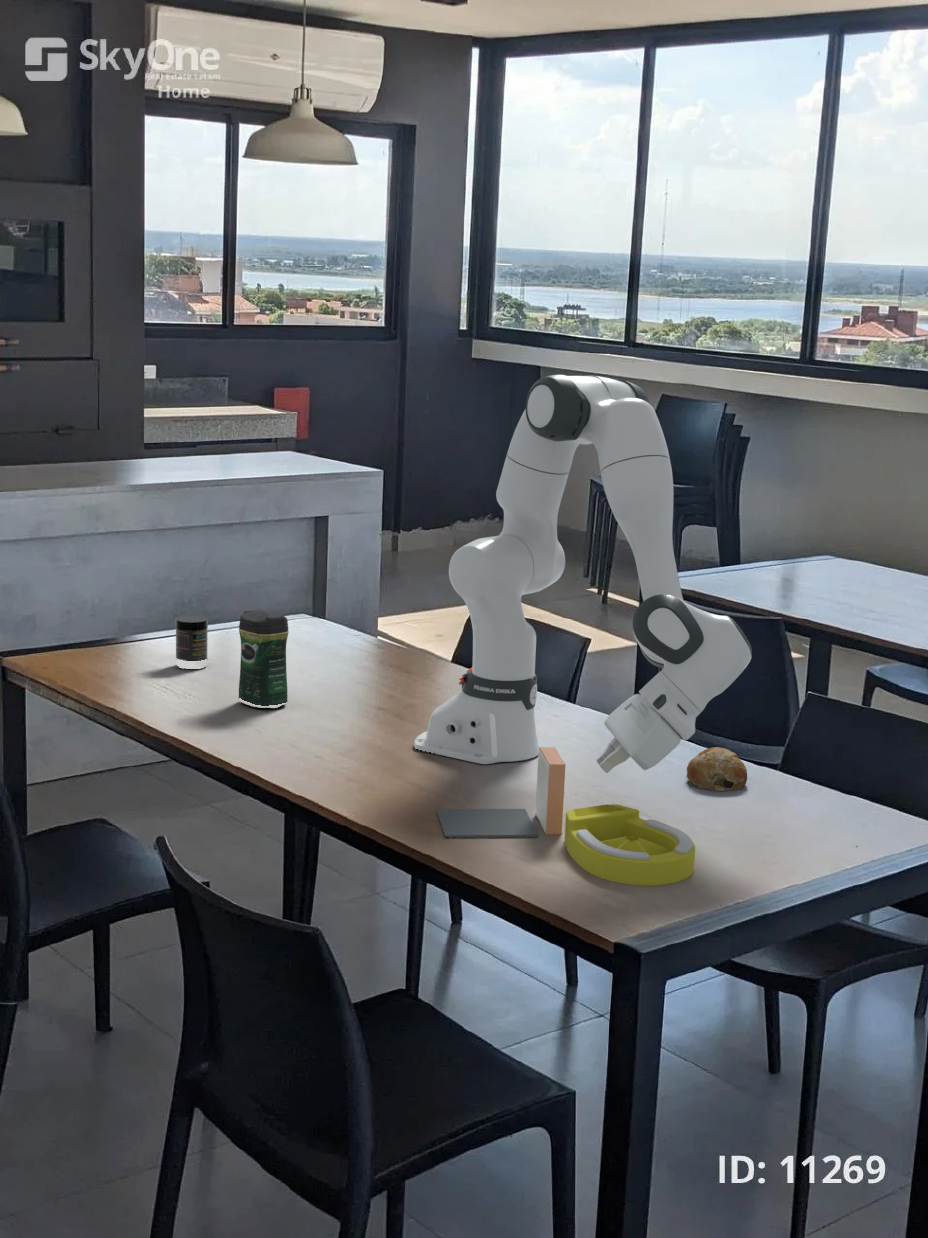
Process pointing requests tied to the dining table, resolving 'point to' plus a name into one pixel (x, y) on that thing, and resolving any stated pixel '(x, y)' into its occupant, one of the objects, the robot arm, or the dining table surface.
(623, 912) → the dining table surface
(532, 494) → the robot arm
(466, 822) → the rubber mat
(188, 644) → the supplement container
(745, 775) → the bread roll
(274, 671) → the coffee jar
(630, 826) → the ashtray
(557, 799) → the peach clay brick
